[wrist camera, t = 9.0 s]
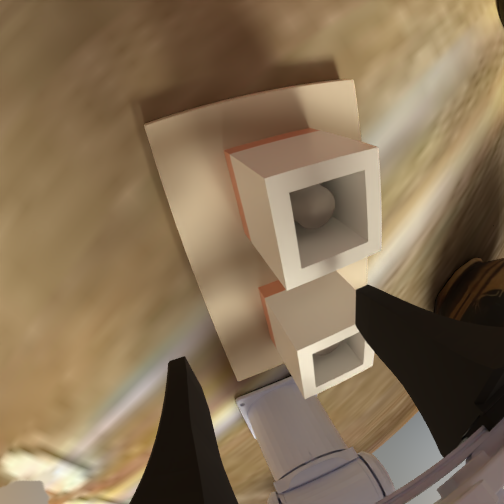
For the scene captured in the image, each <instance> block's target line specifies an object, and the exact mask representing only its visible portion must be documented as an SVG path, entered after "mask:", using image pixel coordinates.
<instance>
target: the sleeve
mask: <svg viewBox="0 0 504 504" xmlns="http://www.w3.org/2000/svg"><path fill="white" fill-rule="evenodd" d="M224 154H225V158H226V162H227V166H228V170H229V174H230V178H231V181H232V185H233V189H234V193H235V197H236V201H237V205H238V209H239V213H240V217H241V221H242V224H243V228H244V232H245V234H246V236H247V237H248V238H249V240H250V241H251V242H252V244H253V245H254V247H255V248H256V249H257V251H258V252H259V253H260V255H261V256H262V257H263V259H264V260H265V262H266V263H267V264H268V266H269V267H270V268H271V270H272V271H273V273H274V274H275V275H276V277H277V278H278V279H279V281H280V282H281V283H282V285H283V286H284V288H285V289H286V290H287V291H288V290H290V289H293V288H295V287H297V286H300V285H302V284H305V283H307V282H310V281H312V280H315V279H317V278H319V277H322V276H324V275H327V274H329V273H331V272H334V271H336V270H338V269H341V268H343V267H345V266H348V265H350V264H352V263H355V262H357V261H359V260H362V259H364V258H366V257H368V256H371V255H373V254H375V253H377V252H380V251H382V212H381V182H380V164H379V150H378V147H376V146H373V145H370V144H367V143H363V142H360V141H357V140H353V139H350V138H346V137H343V136H339V135H335V134H332V133H328V132H324V131H320V130H316V129H312V128H306V129H302V130H297V131H293V132H289V133H285V134H281V135H277V136H273V137H269V138H265V139H262V140H258V141H254V142H251V143H247V144H243V145H240V146H236V147H233V148H230V149H226V150H224ZM316 184H320V185H321V186H323V187H325V188H327V189H328V190H329V191H330V192H331V193H332V194H333V196H334V199H335V209H334V212H333V215H332V217H331V218H330V220H329V221H328V222H327V223H326V224H325V225H323V226H322V227H319V228H317V229H307V228H304V227H303V226H301V225H300V224H299V223H298V222H297V221H295V220H294V218H293V212H292V206H291V201H290V195H289V193H290V192H293V191H297V190H300V189H303V188H306V187H309V186H313V185H316Z"/></svg>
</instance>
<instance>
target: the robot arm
mask: <svg viewBox="0 0 504 504" xmlns="http://www.w3.org/2000/svg"><path fill="white" fill-rule="evenodd" d="M355 325H356V327H357V329H358V330H359V332H360V333H361V335H362V336H363V338H364V339H365V341H366V342H367V344H368V345H369V346H370V347H371V348H372V350H373V351H374V352H375V353H376V354H377V355H378V356H379V358H380V359H381V360H382V361H383V362H384V363H385V364H386V366H387V367H388V368H389V369H390V370H391V371H392V373H393V374H394V375H395V376H396V377H397V378H398V380H399V381H400V382H401V384H402V385H403V386H404V388H405V389H406V391H407V392H408V394H409V395H410V397H411V398H412V400H413V402H414V403H415V405H416V407H417V408H418V410H419V412H420V413H421V415H422V416H423V419H424V420H425V422H426V424H427V426H428V428H429V430H430V432H431V434H432V436H433V438H434V440H435V442H436V444H437V446H438V449H439V451H440V453H441V455H442V456H443V457H444V458H443V459H442V460H441V461H439V462H438V463H436V464H435V465H434V466H432V467H431V468H430V469H428V470H427V471H426V472H424V473H423V474H421V475H420V476H418V477H417V478H415V479H414V480H412V481H411V482H409V483H408V484H406V485H404V486H403V487H401V488H400V489H398V490H396V491H395V489H394V485H393V483H392V481H391V479H390V477H389V475H388V473H387V471H386V470H385V468H384V467H383V465H382V464H381V463H380V461H379V460H378V459H377V458H376V457H375V456H374V455H372V454H370V453H366V452H364V451H361V452H359V453H356V451H355V450H354V448H353V447H350V448H348V447H347V445H346V444H345V442H344V441H343V439H342V437H341V436H340V434H339V432H338V431H337V429H336V428H335V426H334V424H333V423H332V421H331V419H330V418H329V416H328V415H327V413H326V411H325V410H324V408H323V406H322V405H321V403H320V401H319V400H318V398H317V394H316V395H314V396H311V397H309V398H307V399H304V397H303V395H302V393H301V392H300V390H299V388H298V386H297V385H296V383H295V381H294V379H293V378H292V376H290V377H288V378H286V379H283V380H281V381H278V382H276V383H274V384H271V385H269V386H266V387H264V388H261V389H259V390H256V391H253V392H251V393H248V394H245V395H243V396H240V397H238V398H237V399H236V400H235V401H236V404H237V406H238V408H239V410H240V412H241V414H242V416H243V418H244V419H245V421H246V423H247V425H248V427H249V429H250V431H251V433H252V435H253V436H254V438H255V439H257V441H258V443H259V446H260V448H261V450H262V453H263V455H264V457H265V460H266V462H267V464H268V466H269V469H270V471H271V473H272V475H273V478H274V480H275V482H274V483H273V484H274V486H275V488H276V491H274V492H271V493H270V495H269V498H268V500H267V504H405V503H407V502H408V501H410V500H411V499H413V498H414V497H416V496H418V495H419V494H420V493H422V492H423V491H425V490H426V489H428V488H429V487H430V486H432V485H433V484H435V483H436V482H437V481H439V480H440V479H441V478H443V477H444V476H445V475H446V474H448V473H449V472H450V471H452V470H453V469H454V468H455V467H457V466H458V465H459V464H460V463H462V462H463V461H464V460H465V459H466V458H467V459H466V465H465V466H463V467H462V468H461V469H460V470H459V471H458V472H456V473H455V474H454V475H453V476H452V477H451V478H450V479H449V480H448V481H446V482H445V483H444V484H443V485H441V486H440V487H439V488H438V489H437V491H438V492H439V494H440V495H441V499H440V500H438V501H437V502H435V503H434V504H504V489H503V488H502V487H503V486H504V327H494V326H485V325H478V324H473V323H468V322H463V321H459V320H455V319H452V318H448V317H445V316H441V315H438V314H435V313H433V312H430V311H427V310H425V309H422V308H420V307H417V306H415V305H412V304H410V303H408V302H406V301H403V300H401V299H399V298H397V297H394V296H392V295H390V294H388V293H386V292H384V291H381V290H379V289H377V288H375V287H373V286H370V285H365V286H363V287H361V288H359V289H357V290H356V311H355ZM129 504H238V502H237V499H236V497H235V495H234V492H233V490H232V487H231V485H230V483H229V480H228V477H227V475H226V472H225V470H224V467H223V464H222V461H221V457H220V454H219V450H218V446H217V441H216V437H215V433H214V429H213V424H212V420H211V416H210V411H209V408H208V405H207V402H206V399H205V396H204V393H203V390H202V387H201V385H200V383H199V381H198V380H197V378H196V376H195V374H194V372H193V371H192V369H191V367H190V365H189V363H188V361H187V359H186V358H185V356H184V357H181V358H178V359H175V360H172V361H170V362H169V363H168V374H167V383H166V391H165V397H164V403H163V409H162V414H161V418H160V423H159V427H158V431H157V435H156V439H155V443H154V446H153V449H152V452H151V455H150V458H149V461H148V464H147V466H146V469H145V472H144V474H143V476H142V479H141V481H140V483H139V485H138V487H137V489H136V492H135V494H134V496H133V498H132V500H131V502H130V503H129Z"/></svg>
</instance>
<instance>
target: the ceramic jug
mask: <svg viewBox="0 0 504 504" xmlns="http://www.w3.org/2000/svg"><path fill="white" fill-rule="evenodd" d="M493 226H494V225H493ZM434 313H435V314H438V315H441V316H445V317H448V318H452V319H455V320H459V321H463V322H468V323H473V324H478V325H485V326H494V327H504V258H501V259H497V260H493V261H489V262H483V261H482V260H481V258H474V259H471V260H470V261H469V262H467V263H466V264H464V265H463V266H462V267H460V268H459V269H458V270H457V271H456V272H455V273H454V274H453V276H452V277H451V278H450V280H449V281H448V282H447V284H446V285H445V286H444V288H443V289H442V291H441V292H440V293H439V295H438V297H437V298H436V304H435V312H434Z"/></svg>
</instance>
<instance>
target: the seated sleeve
mask: <svg viewBox="0 0 504 504" xmlns="http://www.w3.org/2000/svg"><path fill="white" fill-rule="evenodd" d="M258 290H259V294H260V298H261V302H262V306H263V310H264V314H265V317H266V321H267V325H268V329H269V333H270V337H271V340H272V342H273V344H274V345H275V347H276V349H277V351H278V353H279V354H280V356H281V358H282V360H283V362H284V363H285V365H286V367H287V369H288V370H289V372H290V374H291V376H292V378H293V379H294V381H295V383H296V385H297V386H298V388H299V390H300V392H301V393H302V395H303V397H304V399H307V398H309V397H311V396H314V395H316V394H318V393H320V392H322V391H324V390H326V389H328V388H330V387H333V386H335V385H337V384H339V383H341V382H343V381H345V380H347V379H349V378H351V377H352V376H354V375H356V374H358V373H360V372H362V371H364V370H366V369H368V368H369V367H371V366H373V359H374V351H373V350H372V348H371V347H370V346H369V345H368V344H367V342H366V341H365V339H364V338H363V336H362V335H361V333H360V332H359V330H358V329H357V327H356V325H355V311H356V290H355V289H354V288H353V287H352V286H351V285H350V284H349V283H348V282H347V281H346V280H345V279H344V278H343V277H342V276H341V275H340V274H339V273H338V272H337V271H334V272H331V273H329V274H327V275H324V276H322V277H319V278H317V279H315V280H312V281H310V282H307V283H305V284H302V285H300V286H297V287H295V288H293V289H290V290H288V291H287V290H286V289H285V288H284V286H283V285H282V283H281V282H280V281H279V280H277V281H274V282H272V283H269V284H266V285H264V286H261V287H258ZM340 341H341V343H340V345H339V346H338V347H337V348H336V349H335V350H334V351H332V352H331V353H329V354H326V355H322V356H320V355H316V354H315V353H316V352H318V351H321V350H323V349H325V348H327V347H329V346H331V345H333V344H336V343H338V342H340Z"/></svg>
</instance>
